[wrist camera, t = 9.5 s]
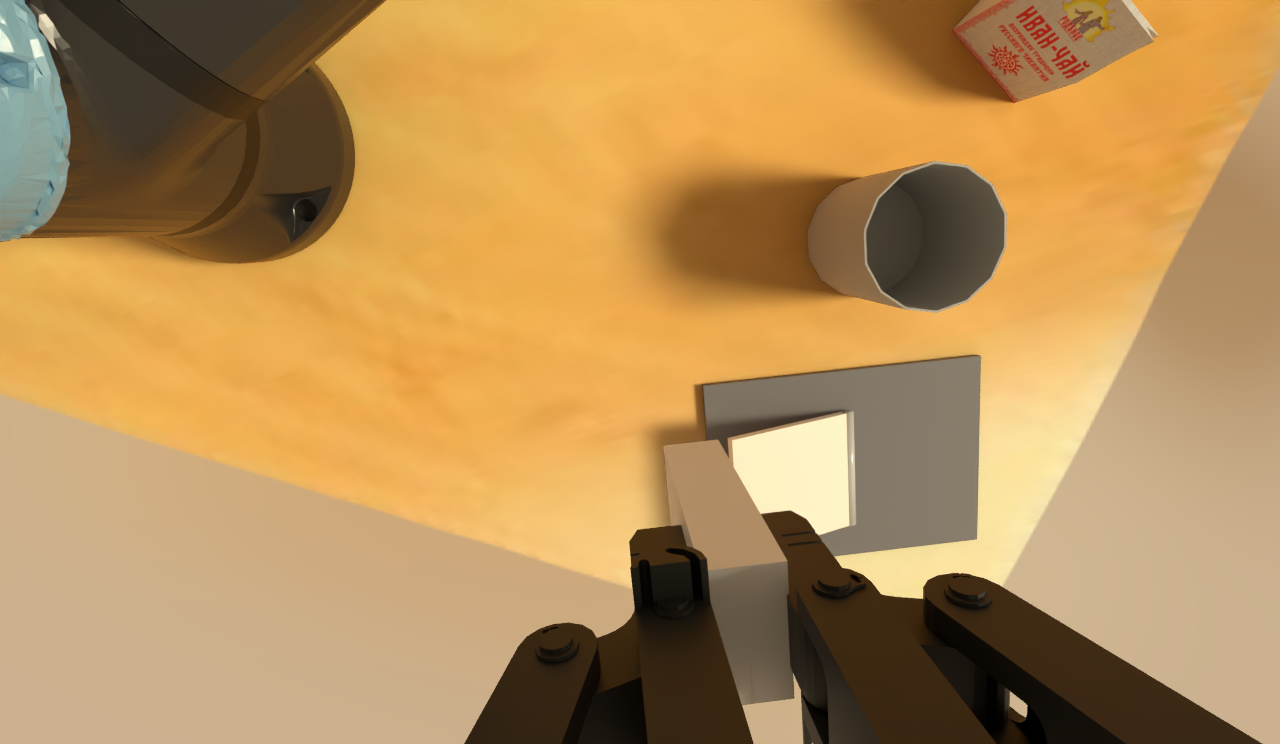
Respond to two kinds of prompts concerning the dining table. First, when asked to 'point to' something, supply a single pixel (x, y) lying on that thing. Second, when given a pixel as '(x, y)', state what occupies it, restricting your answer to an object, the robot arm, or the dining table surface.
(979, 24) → the white printed box
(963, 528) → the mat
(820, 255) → the cup
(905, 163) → the dining table surface
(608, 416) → the dining table surface
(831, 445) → the tile
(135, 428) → the dining table surface
